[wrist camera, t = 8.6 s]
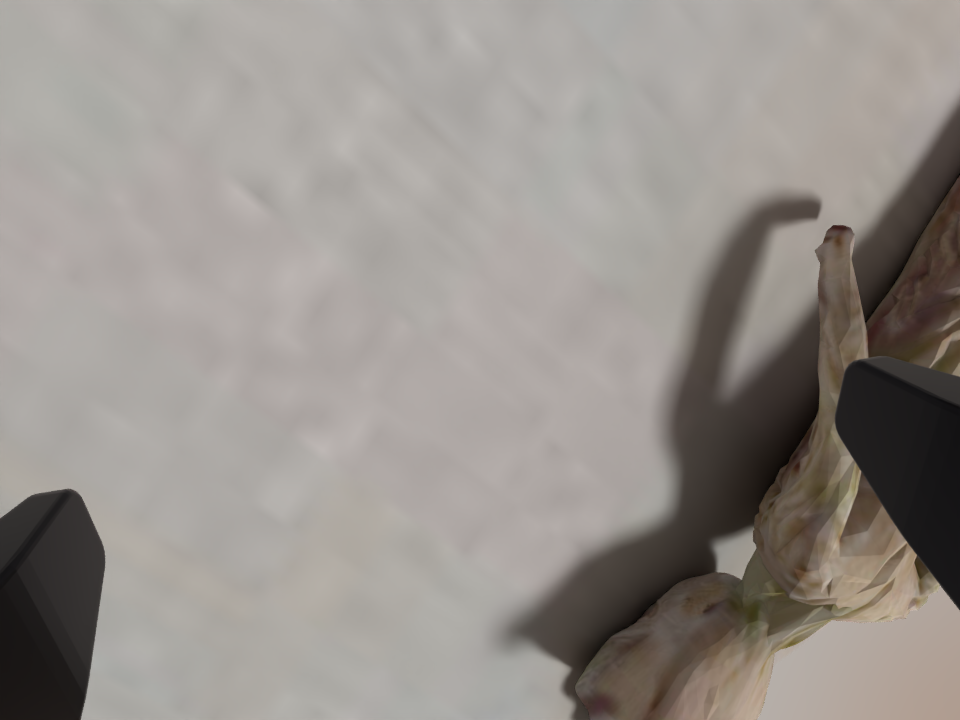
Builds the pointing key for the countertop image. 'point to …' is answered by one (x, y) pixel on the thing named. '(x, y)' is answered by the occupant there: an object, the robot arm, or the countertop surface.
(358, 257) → the countertop surface
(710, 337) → the countertop surface
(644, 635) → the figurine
